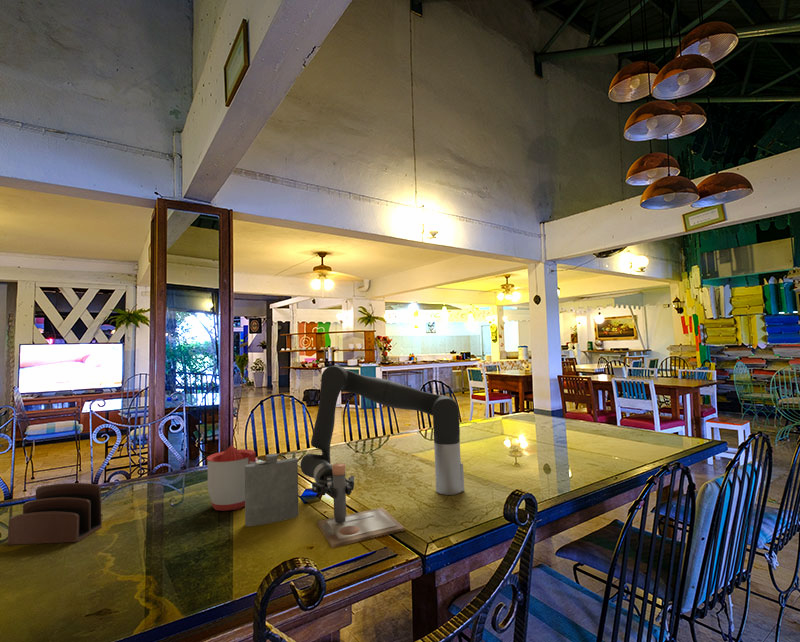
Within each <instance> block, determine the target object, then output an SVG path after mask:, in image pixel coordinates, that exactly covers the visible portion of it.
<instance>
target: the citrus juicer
mask: <svg viewBox="0 0 800 642" xmlns="http://www.w3.org/2000/svg"><path fill="white" fill-rule="evenodd" d="M256 455H257V454H256V451H255V450H253V449H247V448H245V449H243V448H242V449H237V447H235V446H233V445H229V447H228V448H227V449H226V450H224V451H219V452H215V453H212V454H210V455H208V456H207V457H206V461H207V491H208V494H209V495H208V496H209V499H210V503H211V505H212V507H213V509H214V510H216V511H223V512H224V511H232V510H240V509H242V508H245V465H248V464H255V463H256V458H257V457H256Z"/></svg>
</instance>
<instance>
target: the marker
mask: <svg viewBox="0 0 800 642" xmlns="http://www.w3.org/2000/svg"><path fill="white" fill-rule="evenodd" d="M331 465H332V474H333V487H334V488H335V489H336V496H337V497H336V498H333V497H332V498H333V518H335V522H336V523H343V522H345V518H346V515H347V496H346V495H347V494H346V484H345V478H346V464H345V463H341V462H340V463H334V464H331Z"/></svg>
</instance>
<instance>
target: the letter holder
mask: <svg viewBox="0 0 800 642" xmlns="http://www.w3.org/2000/svg"><path fill="white" fill-rule="evenodd" d="M102 521H103V520H102V487H101V485H100V484H97V483H89V482H69V483H68V482H66V483H65V482H64V483H55V484H54V483H53V484H47V485H42V486H38V487H37V488H36V489H35V499H33V500H29V501H26V502H25V503H23V504H22V513H20V514H17V515H13V516H11V517H10V518H9V520H8V531H7V532H8V533H7V546H15V545H16V546H17V545H20V546H21V545H37V544H38V545H40V544H41V545H43V544H63V543H64V544H65V543H79V542H81V541H82V540H84V539H85V538H87V537H88V536H90V535H92V534H93V533H95V532H96V531H98V530H100V529H101V528H102V527H103V524H102V523H103V522H102Z"/></svg>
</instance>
